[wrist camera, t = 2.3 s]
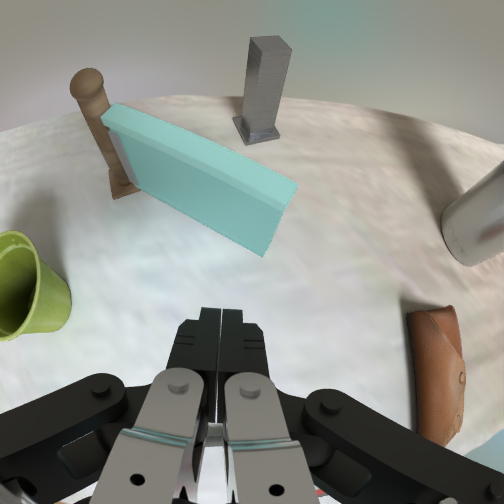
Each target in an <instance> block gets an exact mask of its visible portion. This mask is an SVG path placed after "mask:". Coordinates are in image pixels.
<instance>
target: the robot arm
mask: <svg viewBox="0 0 504 504" xmlns="http://www.w3.org/2000/svg"><path fill="white" fill-rule="evenodd" d="M441 226H442V232H443V236H444V239H445V242H446V244H447V246H448V248H449V250H450V252H451V253H452V254H453V256H454V257H455V258H456V259H457V260H458V261H459V262H461V263H462V264H464V265H466V266H474V265H477V264H479V263H481V262H483V261H485V260H487V259H489V258H491V257H494V256H496V255H498V254H500V253H502V252H504V161H503V162H501V163H500V164H499V165H498V166H497V167H496V168H494V169H493V170H492V171H491V172H490V173H489V174H487V175H486V176H485V177H484V178H483V179H481V180H480V181H479V182H478V183H477V184H475V185H474V186H473V187H472V188H471V189H469V190H468V191H467V192H466V193H464V194H463V195H462V196H460V197H459V198H458V199H457V200H455V201H454V202H453V203H452V204H450V205H449V206H448V207H447V208H446V209H445V210H444V212H443V214H442V219H441ZM220 329H221V338H220ZM217 383H218V397H217ZM216 399H217V423H223V454H224V466H225V477H226V488H227V504H320V502H319V499H318V496H317V493H316V490H315V487H314V485H315V486H316V487H318V488H319V489H321V490H322V491H323V492H325V493H326V494H328V495H329V496H331V497H332V498H334V499H335V500H337V501H338V502H340V503H341V504H504V474H503V473H501V472H498V471H496V470H494V469H491V468H489V467H486V466H484V465H481V464H479V463H477V462H474V461H472V460H470V459H468V458H466V457H464V456H461V455H459V454H457V453H455V452H453V451H451V450H449V449H446V448H444V447H442V446H440V445H438V444H436V443H434V442H432V441H430V440H428V439H426V438H424V437H422V436H420V435H418V434H416V433H414V432H413V431H411V430H409V429H407V428H405V427H403V426H401V425H399V424H398V423H396V422H394V421H392V420H390V419H388V418H387V417H385V416H383V415H381V414H379V413H378V412H376V411H374V410H372V409H371V408H369V407H367V406H365V405H364V404H362V403H360V402H359V401H357V400H355V399H353V398H352V397H350V396H348V395H347V394H345V393H343V392H341V391H338V390H335V389H320V390H316V391H314V392H312V393H311V394H310V395H309V396H308V397H307V398H306V399H305V398H300V397H296V396H291V395H288V394H285V393H283V392H281V391H280V390H278V389H277V388H276V387H275V385H274V383H273V382H272V381H271V380H270V376H269V370H268V363H267V356H266V350H265V343H264V336H263V331H262V330H261V329H260V328H259V326H258V325H257V324H255V323H243V313H242V310H237V309H223V313H222V325H221V309H219V308H205V307H202V308H201V313H200V317H199V320H190V319H186V320H185V321H184V322H183V323H182V324H181V325H180V326H179V327H178V330H177V334H176V337H175V340H174V344H173V346H172V350H171V353H170V356H169V360H168V363H167V366H166V370H164V371H162V372H160V373H159V374H158V375H157V376H156V377H155V378H154V380H153V383H151V384H149V385H145V386H136V387H125V386H124V384H123V382H122V381H121V380H120V379H119V378H118V377H116V376H114V375H111V374H107V373H98V374H93V375H90V376H88V377H85V378H83V379H81V380H79V381H77V382H74V383H72V384H70V385H68V386H66V387H63V388H61V389H59V390H56V391H54V392H52V393H50V394H47V395H45V396H43V397H40V398H38V399H36V400H33V401H31V402H29V403H26V404H24V405H21V406H19V407H17V408H14V409H12V410H9V411H7V412H4V413H2V414H0V504H54V503H56V502H58V501H60V500H62V499H64V498H66V497H68V496H70V495H72V494H74V493H76V492H78V491H80V490H82V489H84V488H86V487H88V486H89V485H91V484H93V483H95V482H97V481H98V483H97V485H96V488H95V490H94V493H93V495H92V496H89V497H87V498H84V499H82V500H80V501H78V502H76V503H74V504H197V489H198V482H199V477H200V471H201V465H202V460H203V454H204V449H205V443H206V436H207V431H208V422H209V423H215V415H216ZM92 431H93V432H92ZM90 432H91V433H90ZM88 433H89V434H88ZM86 434H87V435H86ZM84 435H85V436H84ZM82 436H83V437H82ZM73 441H74V442H73ZM71 442H72V443H71ZM69 443H70V444H69ZM67 444H68V445H67Z"/></svg>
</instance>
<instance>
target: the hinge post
mask: <svg viewBox="0 0 504 504" xmlns="http://www.w3.org/2000/svg"><path fill="white" fill-rule="evenodd" d="M103 83H104V81H103V76H102V74H101V73H100V72H99V71H98V70H96V69H93V68H86V69H82V70H81V71H79V72H77V74H75V76H74V77H73V78H72V80H71V83H70V92H71V95H72V96H73V97H74V98H75V99H76V100H77V102H78V104H79V107H80V109H81V111H82V113H83V115H84V118H85V120H86V122H87V124H88V126H89V128H90V130H91V132H92V134H93V136H94V138H95V140H96V142H97V144H98V146H99V148H100V150H101V152H102V154H103V156H104V158H105V160H106V162H107V164H108V166H109V168H110V169H109V177H110V185H111V192H112V197H113V199H114V200H115V199H118V198H120V197H123V196H126V195H129V194H132V193H135V192H137V191H140V190H141V189H139V188H137V187H135V185H134V184H133V183H131V182H130V181H129V178H128V176H127V174H126V172H125V170H124V168H123V166H122V163H121V161H120V159H119V157H118V155H117V152H116V150H115V148H114V146H113V143H112V141H111V139H110V136H109V134H108V131H109V130H110V128H109V127H107V126H105V125H104V124H103V122H102V120H101V116H102V115H103V114H104V113H105V112H106V111H107V110H108V109H109V108H110V104H109V102H108V99H107V96H106V93H105V90H104V87H103Z"/></svg>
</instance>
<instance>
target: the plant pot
mask: <svg viewBox="0 0 504 504" xmlns="http://www.w3.org/2000/svg"><path fill="white" fill-rule="evenodd" d="M70 312H71V298H70V290H69V288H68V286H67V284H66V283H65V282H64V280H62V279H61V278H60V277H59V276H58V275H57V274H56V273H55V272H54V271H53V270H52V269H50V268H49V267H48V266H47V265H46V264H45V263H44V262H43V261H42V260H41V259H40V257H39V255H38V252H37V250H36V247H35V246H34V244H33V242H32V241H31V240H30V239H29V238H28V237H27V236H26V235H25V234H23V233H21V232H19V231H15V230H11V231H5V232H3V233H1V234H0V341H1V342H3V341H10V340H12V339H14V338H16V337H17V336H19V335H21V334H27V333H46V332H54V331H57V330H59V329H60V328H61V327H62V326H63V325H64V324H65V323H66V321H67V320H68V318H69V315H70Z"/></svg>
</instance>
